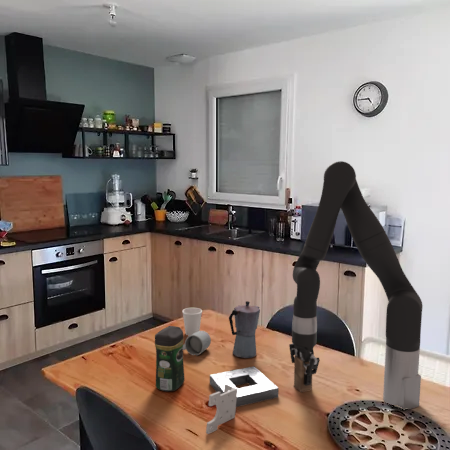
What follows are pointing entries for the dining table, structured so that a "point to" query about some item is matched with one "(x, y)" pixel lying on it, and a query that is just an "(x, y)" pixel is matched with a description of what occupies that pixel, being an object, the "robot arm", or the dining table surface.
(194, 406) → the dining table surface
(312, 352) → the robot arm
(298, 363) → the tan square peg
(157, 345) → the coffee jar
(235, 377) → the square hole plate
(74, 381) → the dining table surface
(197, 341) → the ceramic mug
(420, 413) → the dining table surface
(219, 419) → the bracket
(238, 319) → the moka pot
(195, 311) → the dixie cup
